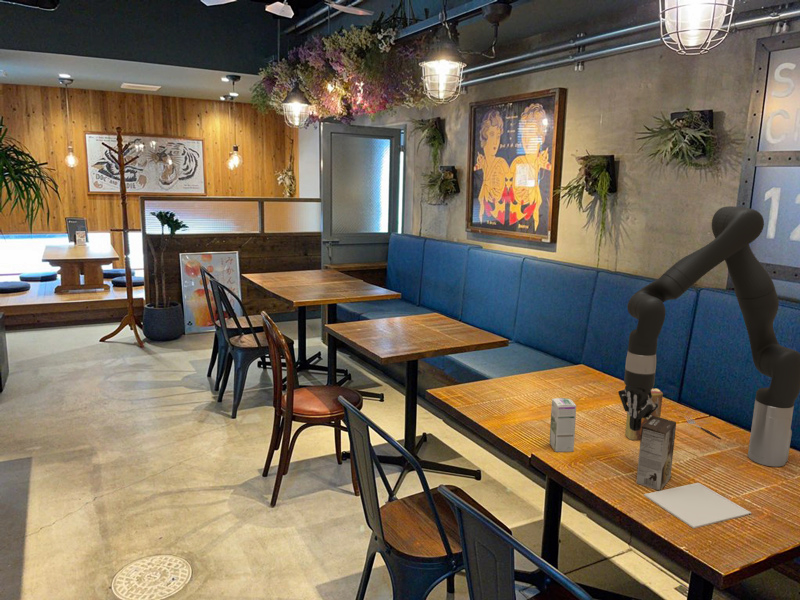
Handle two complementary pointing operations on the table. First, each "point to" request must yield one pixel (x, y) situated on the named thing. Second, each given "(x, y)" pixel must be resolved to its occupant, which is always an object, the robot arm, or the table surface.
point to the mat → (697, 505)
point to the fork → (701, 427)
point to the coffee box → (656, 452)
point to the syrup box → (562, 425)
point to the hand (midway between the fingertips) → (634, 429)
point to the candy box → (636, 435)
